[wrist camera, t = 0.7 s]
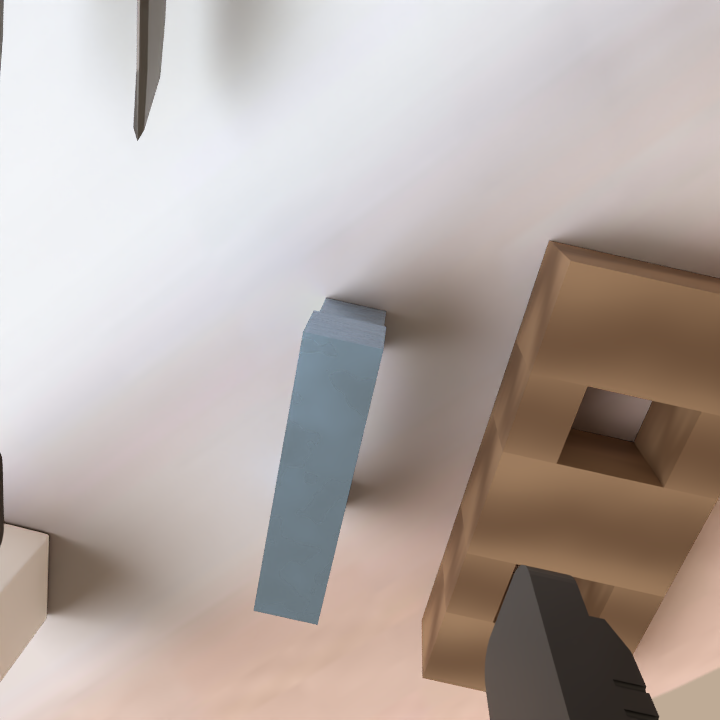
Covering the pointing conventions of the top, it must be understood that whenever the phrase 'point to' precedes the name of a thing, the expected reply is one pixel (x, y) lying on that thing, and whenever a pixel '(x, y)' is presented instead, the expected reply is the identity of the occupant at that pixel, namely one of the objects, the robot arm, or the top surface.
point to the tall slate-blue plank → (319, 456)
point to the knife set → (140, 56)
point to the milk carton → (21, 590)
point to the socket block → (587, 455)
